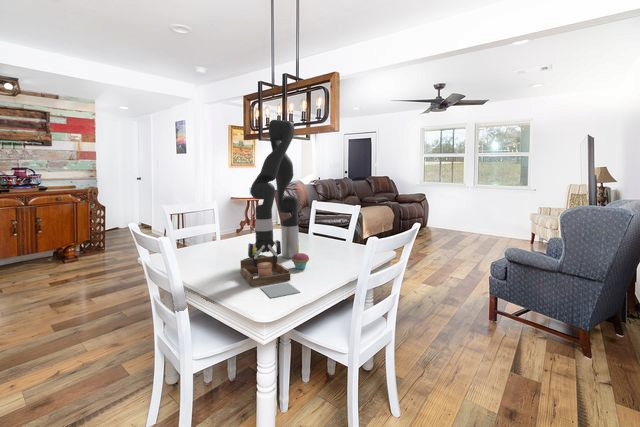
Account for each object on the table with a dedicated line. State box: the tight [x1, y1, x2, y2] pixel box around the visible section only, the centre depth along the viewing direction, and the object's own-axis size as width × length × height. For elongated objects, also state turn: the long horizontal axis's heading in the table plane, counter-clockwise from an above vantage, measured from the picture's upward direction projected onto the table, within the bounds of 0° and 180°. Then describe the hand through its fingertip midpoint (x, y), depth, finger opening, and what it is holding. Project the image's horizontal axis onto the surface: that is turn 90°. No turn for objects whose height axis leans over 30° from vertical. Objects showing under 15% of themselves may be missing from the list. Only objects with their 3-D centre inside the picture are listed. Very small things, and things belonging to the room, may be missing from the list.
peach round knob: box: [257, 262, 273, 278], centre depth 148 cm, size 7×7×6 cm
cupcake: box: [290, 243, 310, 270], centre depth 162 cm, size 9×8×12 cm
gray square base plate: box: [260, 282, 301, 299], centre depth 132 cm, size 12×12×1 cm
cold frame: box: [240, 255, 291, 288], centre depth 148 cm, size 17×17×7 cm
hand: (265, 265), depth 147 cm, fingers open, 8 cm apart
